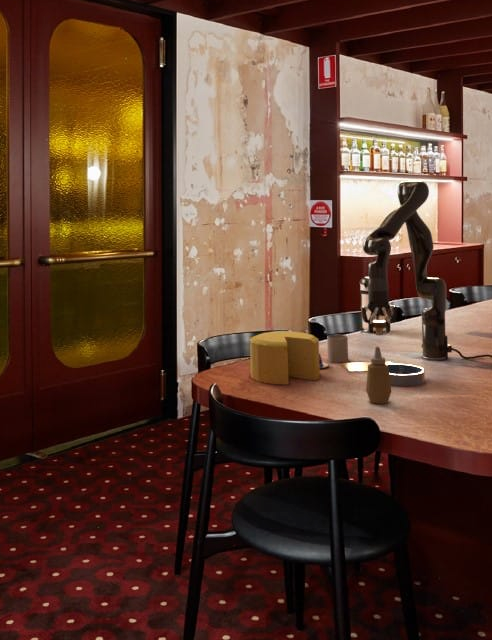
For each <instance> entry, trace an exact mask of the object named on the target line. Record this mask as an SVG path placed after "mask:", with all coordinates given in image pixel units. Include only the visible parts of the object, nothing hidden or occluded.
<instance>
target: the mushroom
mask: <svg viewBox="0 0 492 640" xmlns="http://www.w3.org/2000/svg"><path fill="white" fill-rule="evenodd" d="M372 324H373V328H376V331H375V336H384V329H383V328H386V327H387V321H384V320H374V321H373V323H372Z"/></svg>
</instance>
